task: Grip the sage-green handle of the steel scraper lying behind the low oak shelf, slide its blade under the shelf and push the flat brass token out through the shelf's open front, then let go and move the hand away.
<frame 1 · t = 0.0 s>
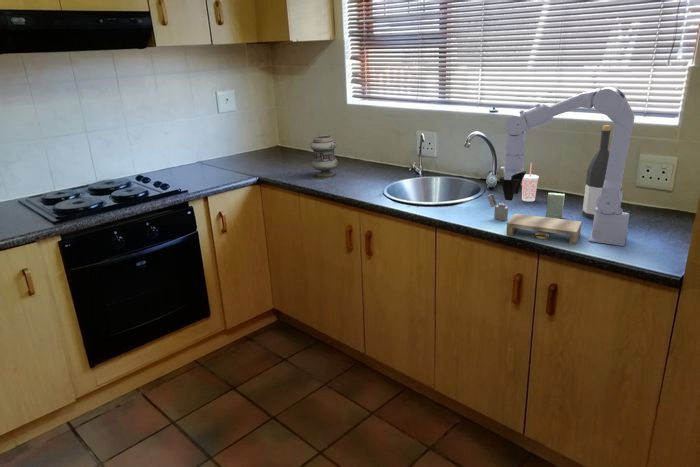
hand: (511, 196, 167), 10 cm above the table, tool pointing down, fingers open, 7 cm apart
lighter: (496, 218, 179), on the table
oak shelf: (543, 234, 163), on the table
beverage cup: (528, 200, 197), on the table
wine bottle: (595, 216, 178), on the table
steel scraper: (554, 216, 178), on the table
apothecary jar: (325, 175, 244), on the table
brass token: (541, 237, 162), on the table
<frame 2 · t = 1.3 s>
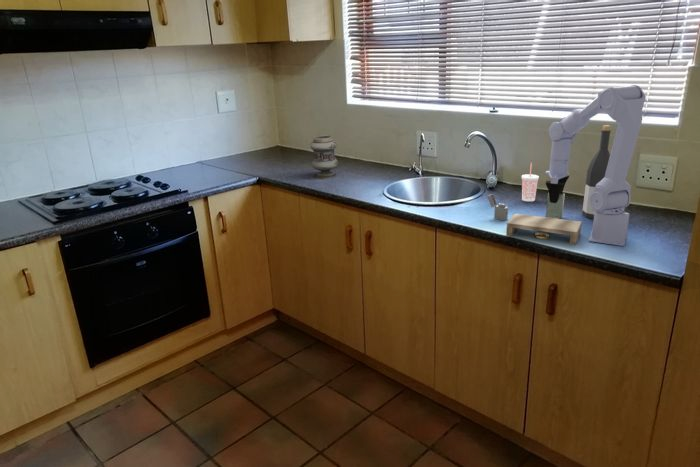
hand: (555, 199, 176), 6 cm above the table, tool pointing down, fingers open, 7 cm apart
nothing on the table moved.
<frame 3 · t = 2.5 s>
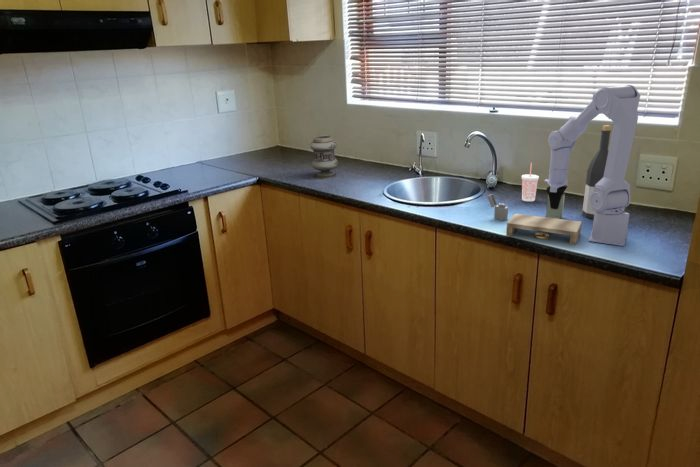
hand: (554, 207, 177), 3 cm above the table, tool pointing down, fingers closed on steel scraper
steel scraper: (554, 216, 178), on the table, touching gripper
everything else where it was.
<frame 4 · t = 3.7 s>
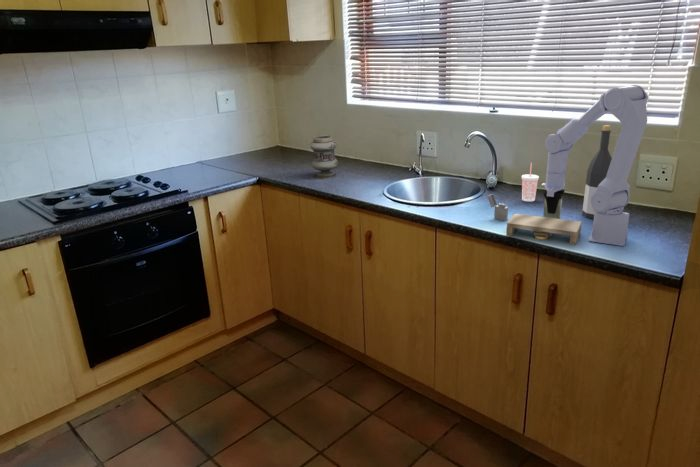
hand: (552, 212, 173), 3 cm above the table, tool pointing down, fingers closed on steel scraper
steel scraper: (551, 221, 174), on the table, touching brass token, gripper
brass token: (540, 238, 161), on the table, touching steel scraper
everything else where it was.
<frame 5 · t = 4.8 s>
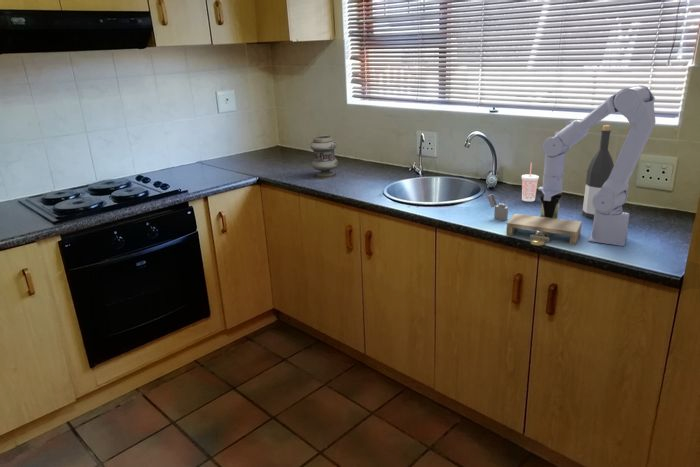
hand: (549, 216, 169), 3 cm above the table, tool pointing down, fingers closed on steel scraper
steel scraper: (548, 225, 170), on the table, touching gripper
brass token: (537, 243, 157), on the table
everything else where it was.
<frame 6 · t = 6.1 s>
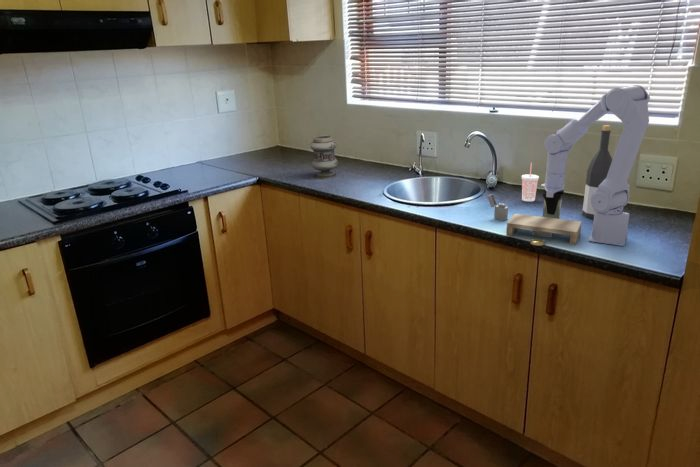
hand: (551, 212, 172), 3 cm above the table, tool pointing down, fingers closed, pressing on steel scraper
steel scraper: (550, 222, 173), on the table, touching gripper
everything else where it was.
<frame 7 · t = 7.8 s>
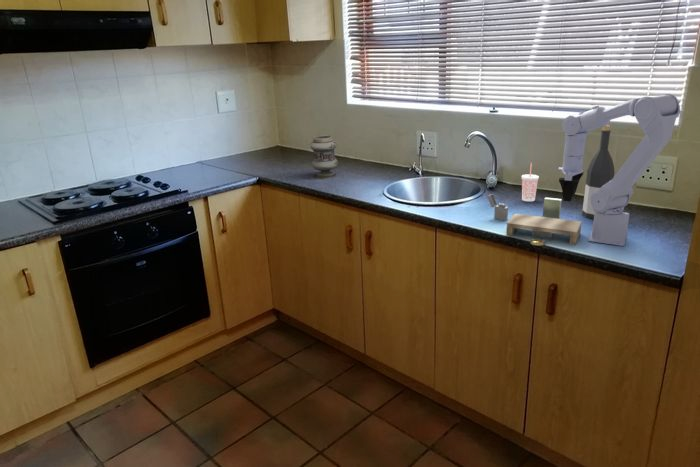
hand: (569, 197, 166), 9 cm above the table, tool pointing down, fingers open, 7 cm apart
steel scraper: (550, 222, 173), on the table
everything else where it was.
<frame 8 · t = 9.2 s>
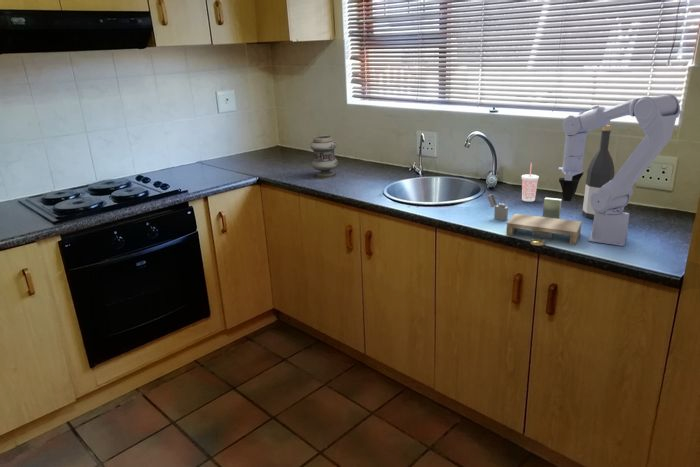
hand: (569, 197, 166), 9 cm above the table, tool pointing down, fingers open, 7 cm apart
nothing on the table moved.
at the end: brass token inside the target area (2.8 cm from its centre), on the table; brass token moved 6.0 cm from its start; the gripper is holding nothing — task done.
